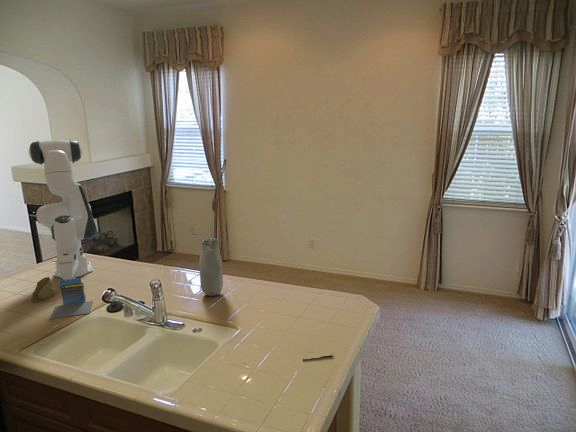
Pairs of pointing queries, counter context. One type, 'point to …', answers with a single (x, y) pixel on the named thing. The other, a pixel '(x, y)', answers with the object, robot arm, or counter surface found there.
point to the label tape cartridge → (72, 291)
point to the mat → (71, 310)
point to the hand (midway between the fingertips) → (72, 282)
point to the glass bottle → (211, 267)
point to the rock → (42, 290)
